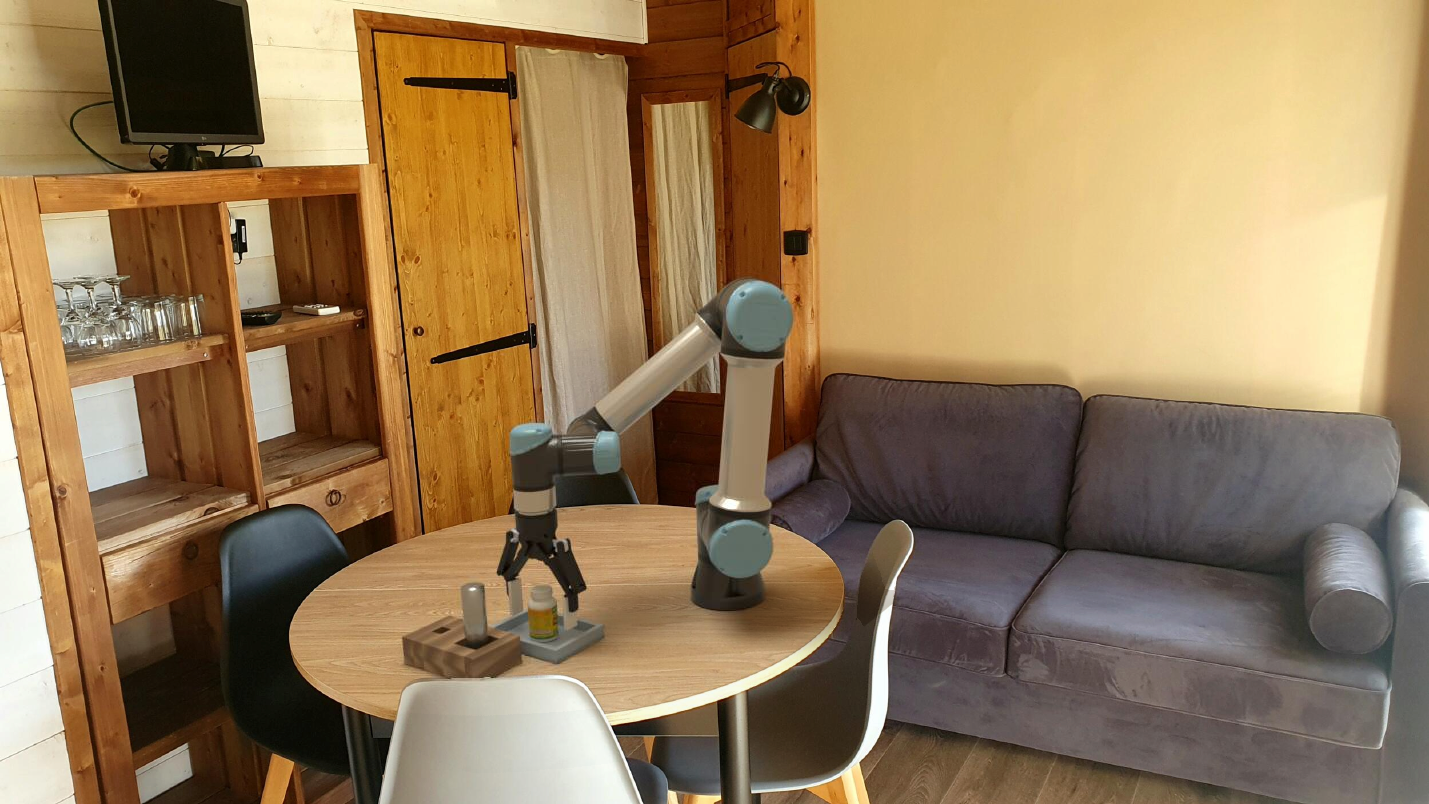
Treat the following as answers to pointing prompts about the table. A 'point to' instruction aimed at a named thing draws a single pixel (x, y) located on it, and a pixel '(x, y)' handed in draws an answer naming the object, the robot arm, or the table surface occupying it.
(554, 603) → the supplement bottle
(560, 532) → the table surface
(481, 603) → the cylinder
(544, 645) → the tray
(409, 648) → the wooden peg board
